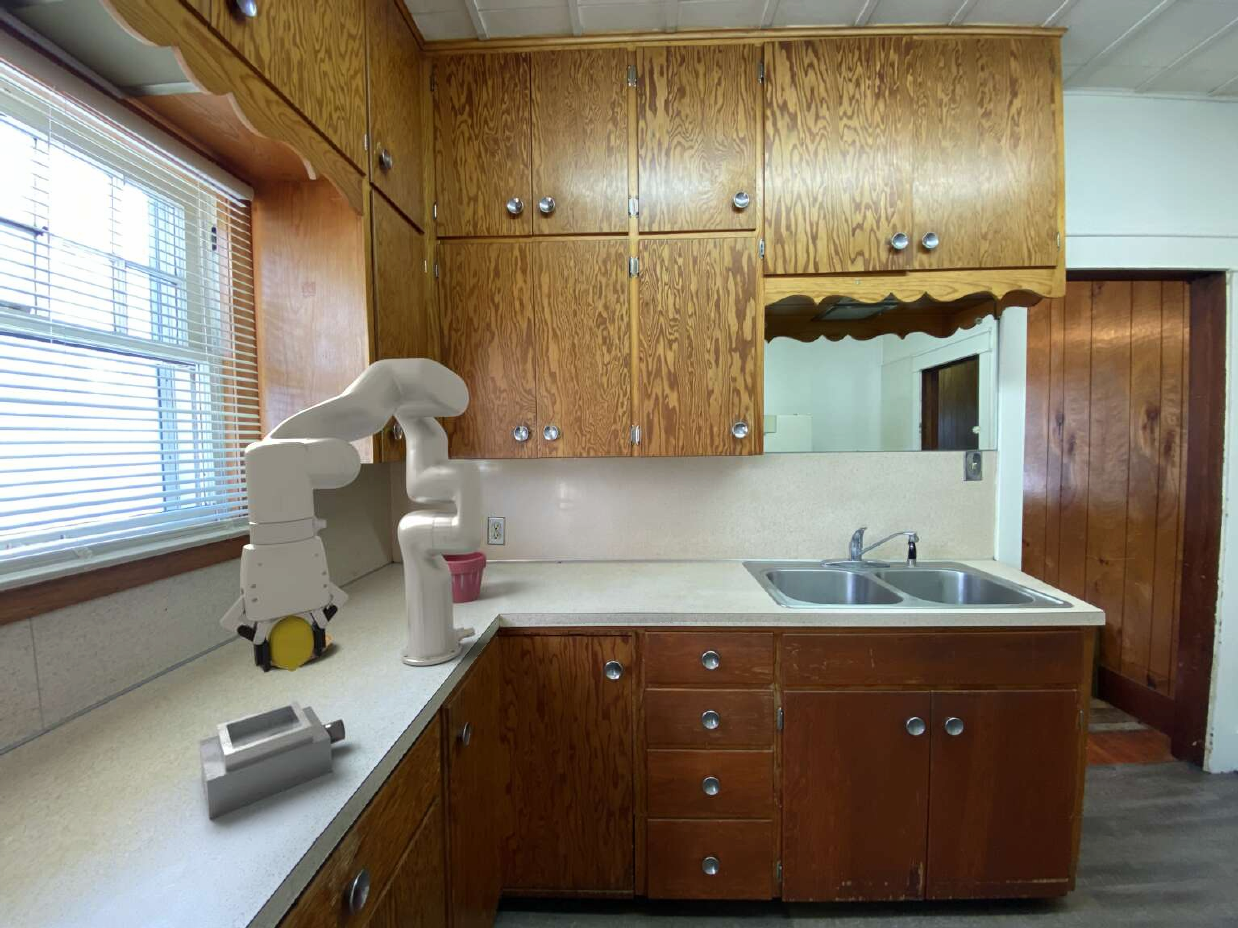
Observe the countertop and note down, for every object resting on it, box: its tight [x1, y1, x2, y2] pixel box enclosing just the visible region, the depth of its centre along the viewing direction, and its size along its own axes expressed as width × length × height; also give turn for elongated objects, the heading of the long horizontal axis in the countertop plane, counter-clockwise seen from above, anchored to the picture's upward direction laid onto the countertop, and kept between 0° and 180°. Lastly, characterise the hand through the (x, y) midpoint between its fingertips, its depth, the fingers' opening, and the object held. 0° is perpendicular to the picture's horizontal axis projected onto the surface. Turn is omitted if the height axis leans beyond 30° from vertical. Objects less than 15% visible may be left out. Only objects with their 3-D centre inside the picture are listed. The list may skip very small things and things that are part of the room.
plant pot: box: [442, 550, 487, 604], centre depth 156 cm, size 14×14×13 cm
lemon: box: [267, 615, 314, 672], centre depth 74 cm, size 6×6×8 cm
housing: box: [198, 700, 346, 820], centre depth 77 cm, size 17×12×7 cm
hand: (291, 660), depth 74 cm, fingers closed on lemon, 5 cm apart
